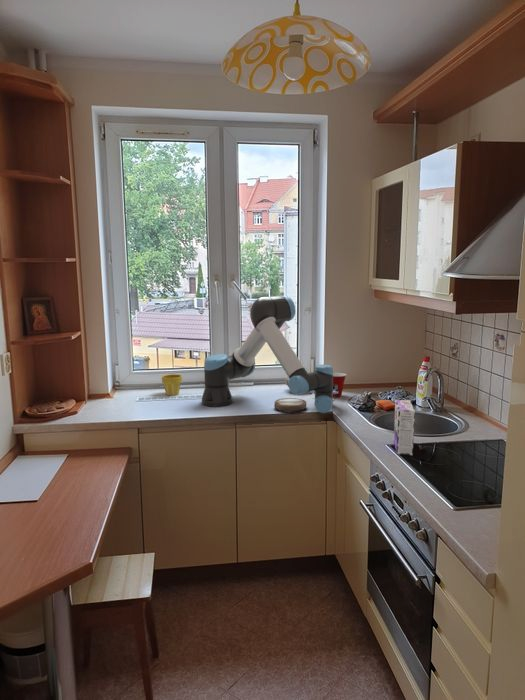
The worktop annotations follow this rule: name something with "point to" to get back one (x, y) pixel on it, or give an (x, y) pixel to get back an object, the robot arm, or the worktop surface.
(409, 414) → the candy box
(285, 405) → the disc
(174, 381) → the plant pot
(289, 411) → the turntable base
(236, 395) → the worktop surface
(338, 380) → the plastic cup
